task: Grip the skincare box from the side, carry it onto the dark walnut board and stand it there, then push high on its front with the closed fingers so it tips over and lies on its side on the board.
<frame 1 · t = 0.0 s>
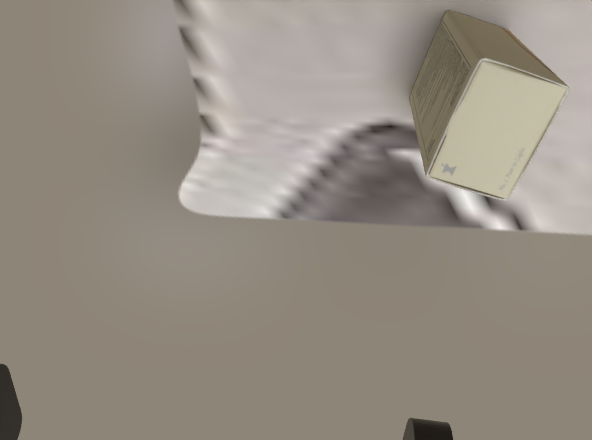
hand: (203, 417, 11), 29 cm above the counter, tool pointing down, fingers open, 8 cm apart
skincare box: (455, 62, 36), on the counter
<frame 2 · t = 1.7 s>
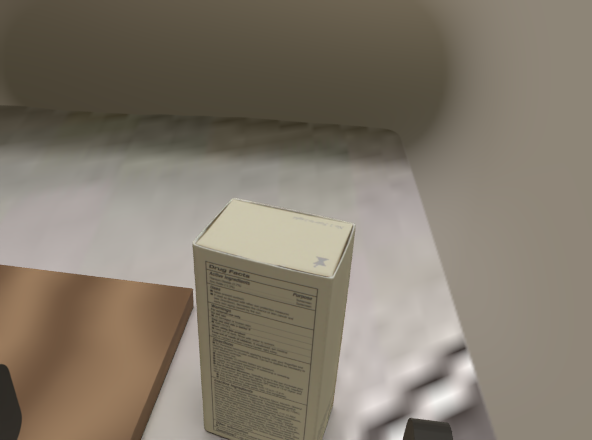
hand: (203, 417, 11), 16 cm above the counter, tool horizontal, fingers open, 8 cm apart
skincare box: (267, 420, 30), on the counter
walnut board: (2, 430, 28), on the counter
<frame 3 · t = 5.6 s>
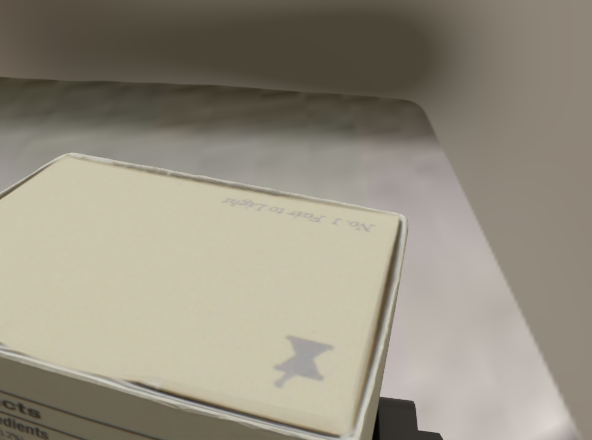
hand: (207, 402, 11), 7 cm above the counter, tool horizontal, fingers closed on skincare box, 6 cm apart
when the fingers open (10 cm above the counter, at t = 10.5 s): skincare box stays where it is, resting on walnut board.
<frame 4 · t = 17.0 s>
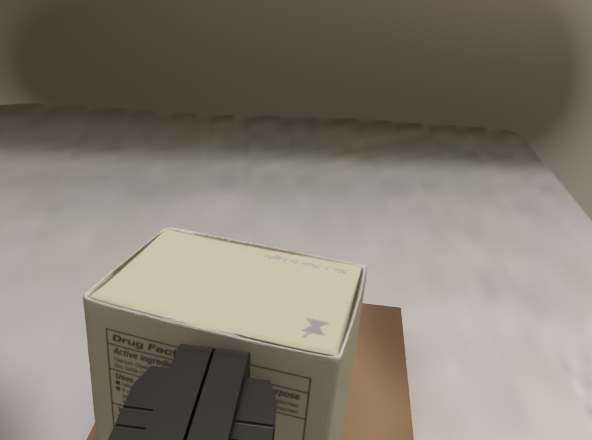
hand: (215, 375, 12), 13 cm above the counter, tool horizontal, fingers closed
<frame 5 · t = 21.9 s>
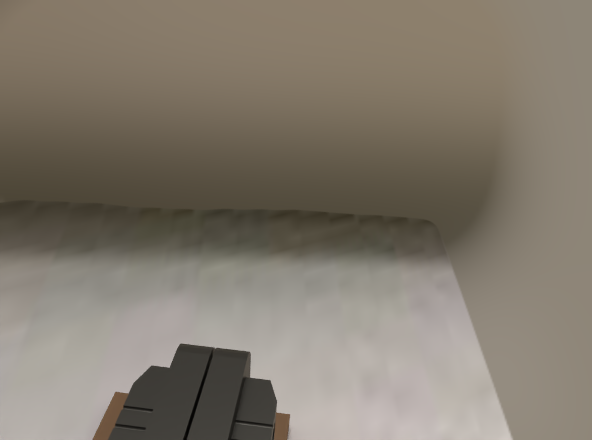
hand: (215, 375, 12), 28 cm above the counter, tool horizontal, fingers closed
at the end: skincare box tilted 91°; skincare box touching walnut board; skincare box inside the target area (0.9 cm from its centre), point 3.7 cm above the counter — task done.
